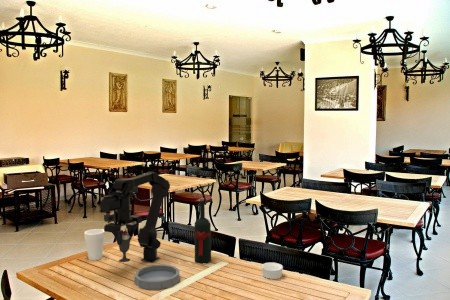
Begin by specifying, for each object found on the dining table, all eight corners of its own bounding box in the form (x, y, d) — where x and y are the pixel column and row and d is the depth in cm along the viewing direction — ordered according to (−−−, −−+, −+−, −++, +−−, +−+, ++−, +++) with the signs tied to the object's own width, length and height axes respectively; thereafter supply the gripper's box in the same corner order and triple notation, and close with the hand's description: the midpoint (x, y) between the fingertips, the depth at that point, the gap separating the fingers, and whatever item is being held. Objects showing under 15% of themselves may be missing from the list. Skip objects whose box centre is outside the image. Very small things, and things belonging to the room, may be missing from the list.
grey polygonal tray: (152, 269, 173) (152, 262, 172) (187, 275, 165) (187, 268, 165) (126, 284, 156) (125, 277, 156) (163, 293, 149) (162, 285, 148)
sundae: (128, 263, 166) (127, 228, 165) (114, 262, 167) (113, 228, 167) (135, 258, 172) (134, 225, 172) (121, 257, 174) (120, 224, 173)
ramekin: (285, 273, 166) (285, 264, 166) (279, 281, 158) (279, 271, 158) (265, 270, 170) (265, 261, 169) (258, 278, 162) (258, 268, 161)
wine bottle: (192, 265, 176) (191, 200, 174) (196, 257, 186) (195, 196, 184) (209, 266, 175) (208, 201, 173) (212, 258, 185) (211, 196, 183)
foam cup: (98, 253, 194) (97, 227, 193) (109, 256, 188) (108, 230, 187) (81, 258, 186) (80, 232, 185) (93, 262, 181) (91, 235, 180)
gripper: (123, 201, 180) (124, 234, 181) (93, 210, 163) (95, 246, 165) (142, 204, 175) (143, 237, 176) (113, 213, 158) (115, 250, 160)
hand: (124, 242), depth 169 cm, fingers closed on sundae, 6 cm apart
